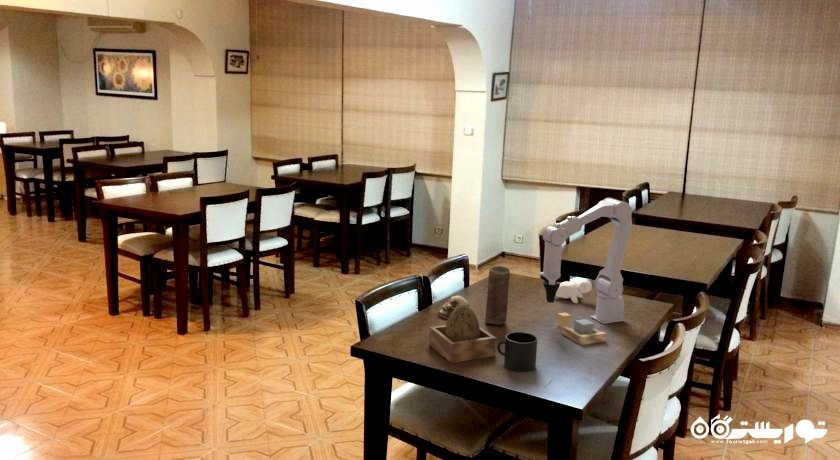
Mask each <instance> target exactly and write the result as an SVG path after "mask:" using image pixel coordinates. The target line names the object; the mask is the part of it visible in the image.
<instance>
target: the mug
mask: <svg viewBox="0 0 840 460" xmlns="http://www.w3.org/2000/svg"><path fill="white" fill-rule="evenodd" d="M503 344H504V351H502V350H501V345H503ZM496 345H497V346H496V350H497V353H498V354H499V355H502V356H503V359H504V360H503V365H504V366H505V368H507V369H509V370H510V371H515V372H519V373H520V372H523V373H524V372H525V373H526V372H531V371H533V370H534V369H535V368H536V365H537V364H536V363H537V348H538V337H537V336H536V335H534V334H532V333H530V332H529V333H528V332H524V331H523V332H522V331H517V332H516V331H514V332H510V333H507V334H506V335H505V340H502V341H499V342H498V343H497V344H496Z"/></svg>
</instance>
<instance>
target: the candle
mask: <svg viewBox="0 0 840 460" xmlns="http://www.w3.org/2000/svg"><path fill="white" fill-rule="evenodd" d="M488 271H489V272H488V281H487V282H488V284H487V297H486V304H485V305H486V307H485V316H484V317H485V319H484V321H485V322H486V324H491V325H495V326H501V325H503V324H504V323H506V322H507V314H508V304H509V303H508V301H509V300H508V299H509V288H510V287H509V286H510V275H511V271H510V269H509V268H508V267H506V266H501V265H498V266H497V265H496V266H495V265H494V266H491V267H490V268H489V270H488Z"/></svg>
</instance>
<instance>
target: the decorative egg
mask: <svg viewBox="0 0 840 460" xmlns="http://www.w3.org/2000/svg"><path fill="white" fill-rule="evenodd" d="M445 325H446V328H445V335H446V337H447V338H449V339H450V340H451V341H452V342H458V341H465V340H472V339H478V338H479V334H480V327H481V326H480V322H479V318H478V316H477V315H476V312H475V311H474V310H473V308H471V307H470V305H469V306H467V305H460V306H458V307H457V308H455V309H454V311H453V312H452V313H451V315H450V316H449V318H448V319H447V320H446V324H445Z"/></svg>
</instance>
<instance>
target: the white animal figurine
mask: <svg viewBox="0 0 840 460" xmlns="http://www.w3.org/2000/svg"><path fill="white" fill-rule="evenodd" d="M559 284H560V287H559V288H558V290H557V292H556V295H555V299H556V298H557V297H558V298H562V299H571V302H573V303H574V304H578V302H579V299H583V294H585V293H589V292H590V291H591V290H592V288H593V284H592V282H591V281H590V280H589V279H583V280H582V281H579V283H578V282H575V281H568V280H566V281H563V282H560V283H559ZM577 297H578V298H579V299H578V298H577ZM555 299H554V300H555Z"/></svg>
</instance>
